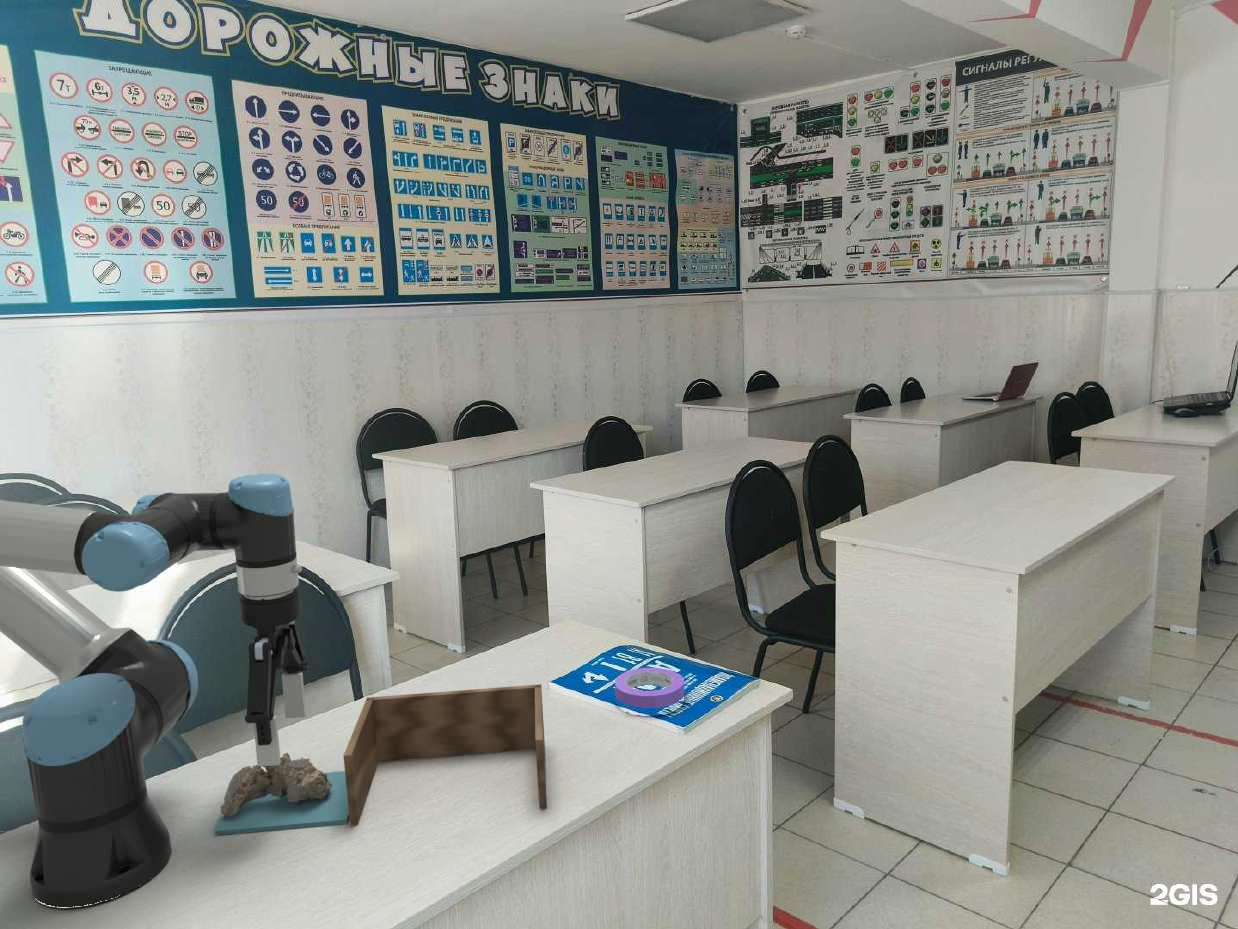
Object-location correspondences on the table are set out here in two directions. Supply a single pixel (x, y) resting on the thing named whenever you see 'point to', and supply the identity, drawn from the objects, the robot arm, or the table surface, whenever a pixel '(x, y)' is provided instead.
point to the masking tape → (649, 677)
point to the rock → (276, 784)
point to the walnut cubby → (443, 732)
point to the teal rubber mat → (291, 811)
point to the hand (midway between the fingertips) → (283, 739)
